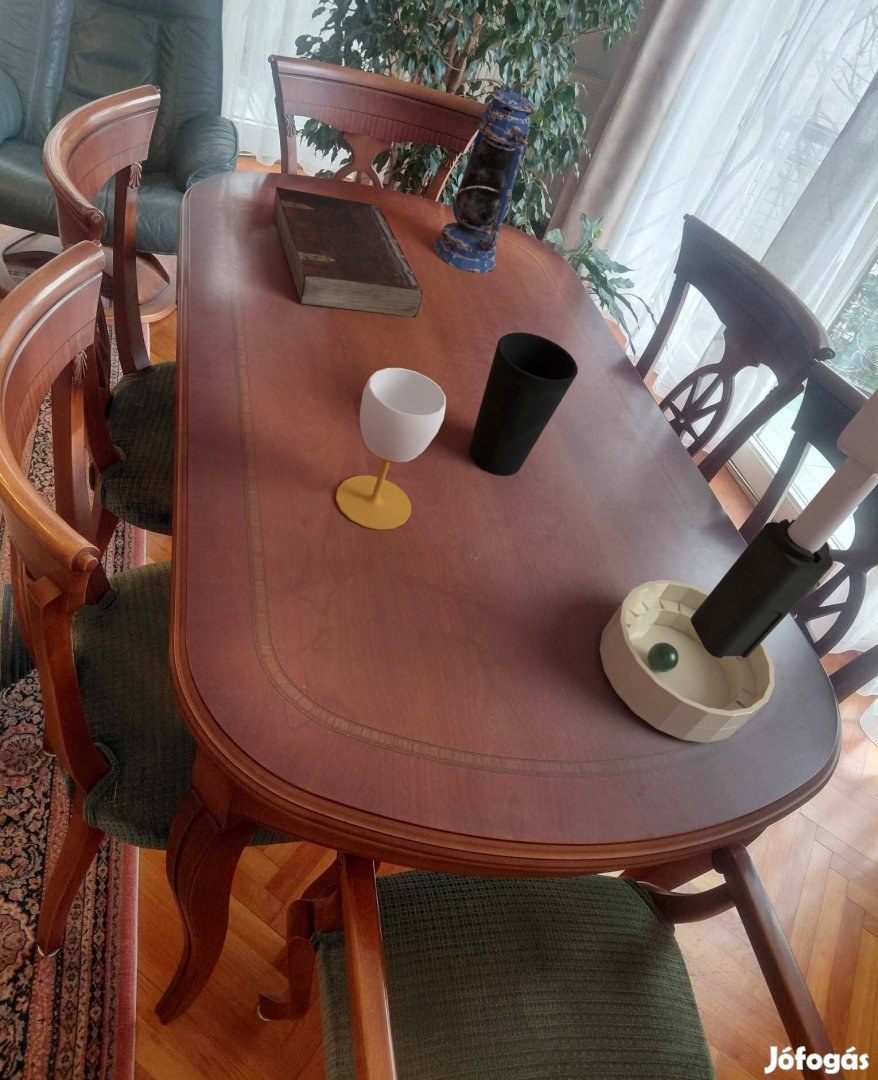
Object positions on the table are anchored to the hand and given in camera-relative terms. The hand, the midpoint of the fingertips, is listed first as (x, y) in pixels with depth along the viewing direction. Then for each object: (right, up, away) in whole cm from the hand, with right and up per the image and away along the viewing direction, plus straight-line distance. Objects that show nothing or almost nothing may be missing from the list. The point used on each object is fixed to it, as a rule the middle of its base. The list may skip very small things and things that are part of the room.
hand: (860, 474), depth 60 cm
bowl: (-7, -20, +25) cm, 33 cm away
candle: (-6, -14, +14) cm, 21 cm away
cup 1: (-40, -1, +31) cm, 51 cm away
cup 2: (-25, +6, +45) cm, 51 cm away
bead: (-8, -18, +24) cm, 31 cm away
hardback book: (-49, +41, +70) cm, 95 cm away
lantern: (-28, +48, +86) cm, 103 cm away
